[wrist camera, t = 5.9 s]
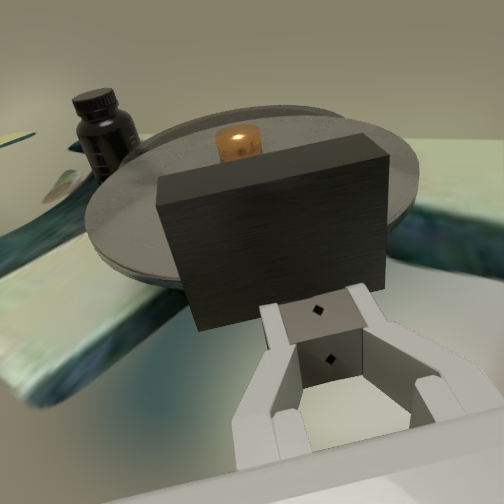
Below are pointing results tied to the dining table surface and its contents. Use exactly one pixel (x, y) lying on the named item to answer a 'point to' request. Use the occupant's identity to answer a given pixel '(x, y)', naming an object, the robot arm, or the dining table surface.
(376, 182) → the cooker lid
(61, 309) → the dining table surface
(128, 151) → the supplement bottle
